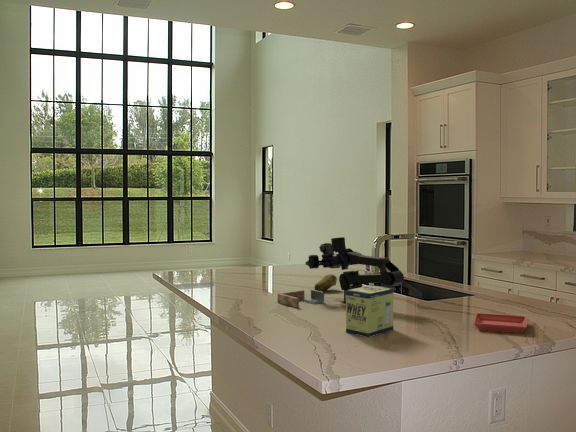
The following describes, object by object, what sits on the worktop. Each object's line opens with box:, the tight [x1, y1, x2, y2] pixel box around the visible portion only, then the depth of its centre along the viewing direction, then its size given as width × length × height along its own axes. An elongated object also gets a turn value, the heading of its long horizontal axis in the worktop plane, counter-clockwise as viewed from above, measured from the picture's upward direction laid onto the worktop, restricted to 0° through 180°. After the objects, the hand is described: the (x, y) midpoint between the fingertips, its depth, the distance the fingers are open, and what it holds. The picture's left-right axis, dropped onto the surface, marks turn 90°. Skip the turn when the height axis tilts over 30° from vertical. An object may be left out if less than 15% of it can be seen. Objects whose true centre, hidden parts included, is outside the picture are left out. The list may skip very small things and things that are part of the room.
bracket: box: [303, 289, 325, 305], centre depth 264 cm, size 8×6×5 cm
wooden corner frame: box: [277, 289, 305, 308], centre depth 262 cm, size 14×15×4 cm
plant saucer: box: [473, 312, 528, 334], centre depth 215 cm, size 18×18×3 cm
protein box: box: [345, 284, 394, 338], centre depth 211 cm, size 10×16×16 cm
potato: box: [314, 274, 338, 292], centre depth 291 cm, size 8×13×8 cm, turn 110°
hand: (312, 263), depth 279 cm, fingers open, 9 cm apart
